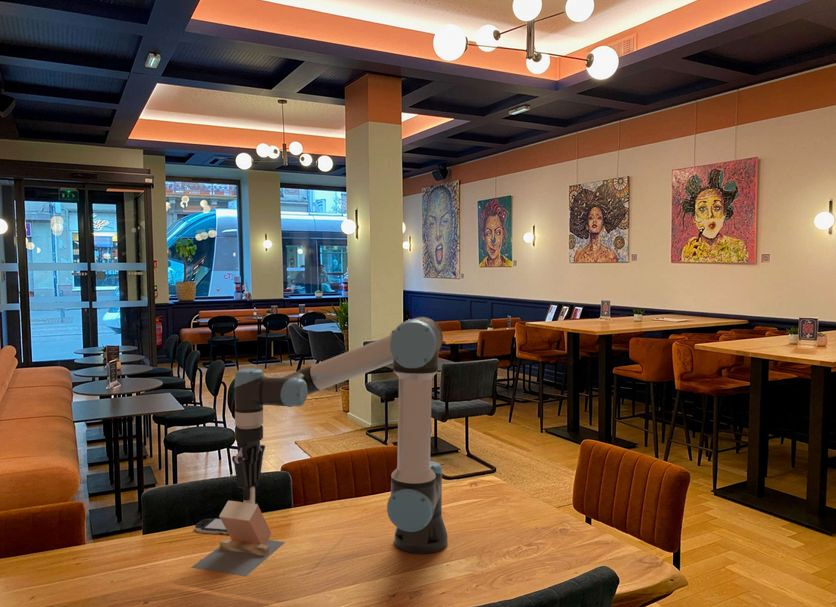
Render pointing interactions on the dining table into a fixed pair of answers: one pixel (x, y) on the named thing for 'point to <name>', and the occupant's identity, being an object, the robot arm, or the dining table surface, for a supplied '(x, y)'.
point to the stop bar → (244, 547)
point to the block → (245, 522)
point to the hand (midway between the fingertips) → (249, 510)
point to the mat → (235, 560)
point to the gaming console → (211, 526)
